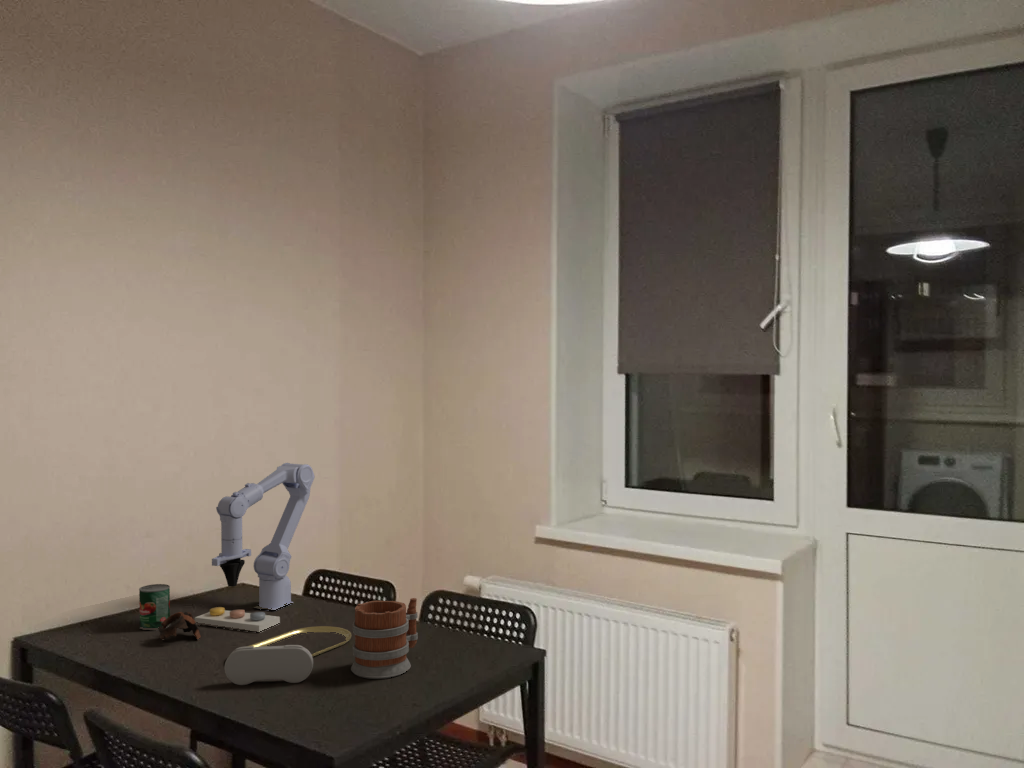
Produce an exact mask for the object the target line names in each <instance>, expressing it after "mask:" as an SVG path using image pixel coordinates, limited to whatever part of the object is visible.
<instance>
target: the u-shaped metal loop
mask: <svg viewBox="0 0 1024 768" xmlns="http://www.w3.org/2000/svg"><path fill="white" fill-rule="evenodd" d="M307 632H314V633H330V632H336V633H335V634H337V633H339V634H338V635H340V634H342V635H341V636H343V635H344V636H345V637H346V638H345V637H344V636H343V637H344V638H345V640H346V641H345V640H344V641H342V642H339V643H337V644H334V645H332V646H329V647H326V648H323V649H322V650H318V651H316V652H314V653H311V655H312V657H313V658H314V656H315V657H317V656H320V655H321V654H325V653H326V652H329V651H332V650H335V649H337V648H340V647H342V646H344V645H345V644H347V643H348V642H349V641H350V640H351V638H352V632H351V631H350V630H348V629H345V628H343V627H339V626H338V627H337V626H329V625H328V626H327V625H320V626H308V627H306V626H305V627H301V628H297V629H291V630H290V631H286V632H284V633H281V634H278V635H274V636H272V637H270V638H267V639H264V640H262V641H258V642H255V643H253V644H250V645H247V646H246V647H248V646H254V647H264V646H267V645H269V646H271V645H270V644H272V643H275V642H277V641H280V640H282V639H285V638H288V637H291V636H293V635H297V634H300V633H306V634H308V633H307ZM297 636H298V635H297ZM291 638H292V637H291ZM288 639H289V638H288ZM280 642H281V641H280ZM277 643H278V642H277ZM275 644H276V643H275ZM272 645H273V644H272ZM334 648H335V649H334ZM319 654H320V655H319ZM228 657H229V655H228ZM228 657H227V658H228Z"/></svg>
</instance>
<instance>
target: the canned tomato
mask: <svg viewBox="0 0 1024 768" xmlns="http://www.w3.org/2000/svg"><path fill="white" fill-rule="evenodd" d="M170 588H171V585H170V584H165V583H156V584H153V583H152V584H147V585H143V586H141V587H139V589H138V591H139V595H138V596H139V597H138V598H139V599H138V600H139V628H140V627H143V628H158V627H160V626H162V625H161V624H162V622H163V621H165V620H166V619H167V618H168V617H170V616H171V606H170V605H171V601H170V600H171V598H170V597H171V596H170V595H171V594H170V593H171V591H170ZM162 627H163V626H162Z"/></svg>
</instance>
